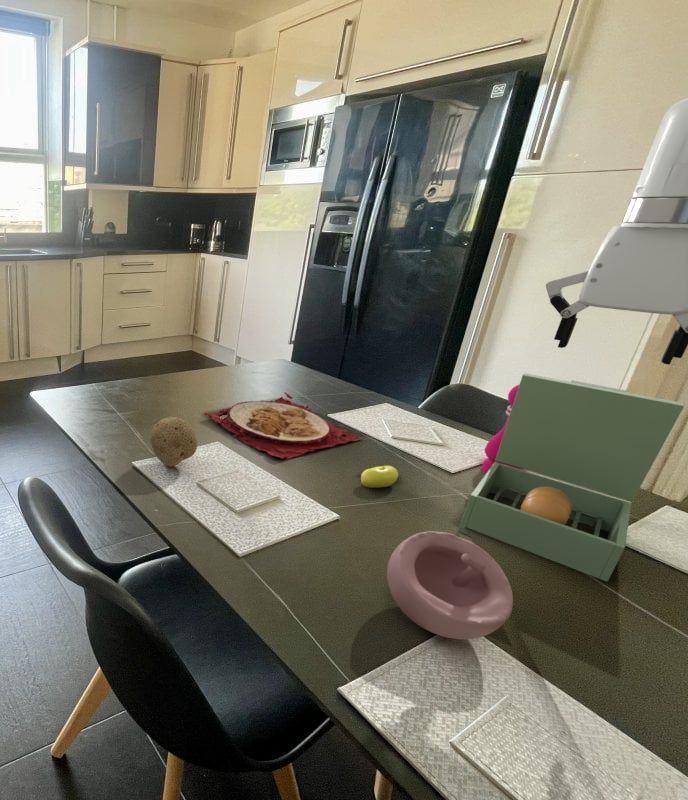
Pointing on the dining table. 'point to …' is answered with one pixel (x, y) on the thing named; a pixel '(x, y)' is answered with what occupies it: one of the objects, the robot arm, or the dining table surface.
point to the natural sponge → (173, 441)
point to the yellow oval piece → (379, 476)
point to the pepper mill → (498, 437)
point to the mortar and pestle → (449, 585)
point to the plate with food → (280, 427)
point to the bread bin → (549, 521)
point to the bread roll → (548, 504)
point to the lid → (586, 433)
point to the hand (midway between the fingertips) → (611, 353)
